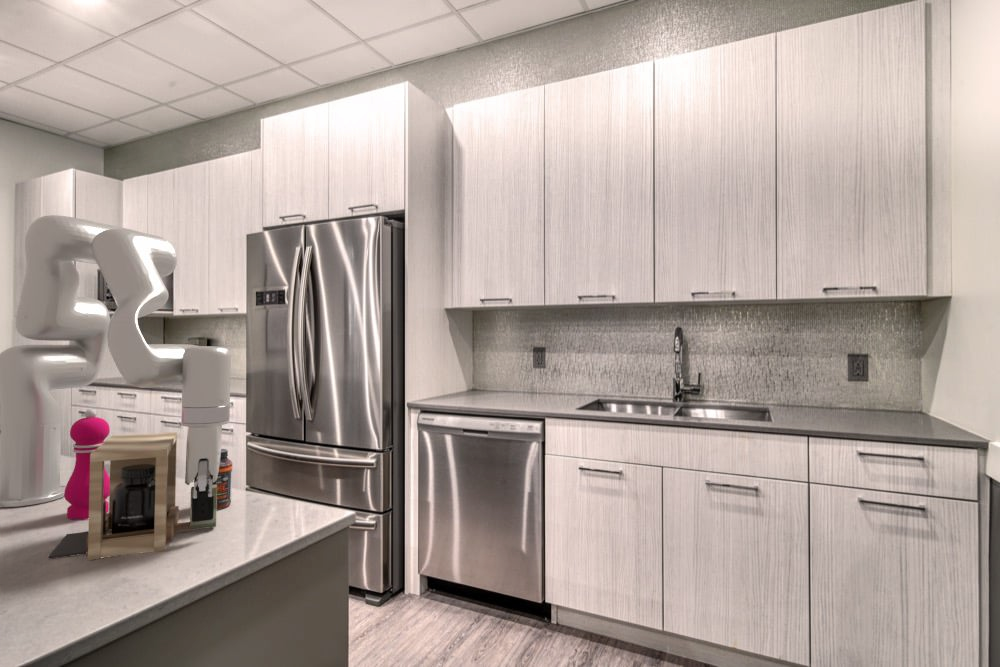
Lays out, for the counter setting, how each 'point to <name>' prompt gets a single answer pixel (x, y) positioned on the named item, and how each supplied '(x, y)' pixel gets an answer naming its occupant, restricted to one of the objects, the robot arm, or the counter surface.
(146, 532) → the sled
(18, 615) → the counter surface
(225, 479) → the supplement bottle
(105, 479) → the pepper mill
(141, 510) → the supplement bottle
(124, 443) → the tunnel
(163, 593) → the counter surface
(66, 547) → the mat
